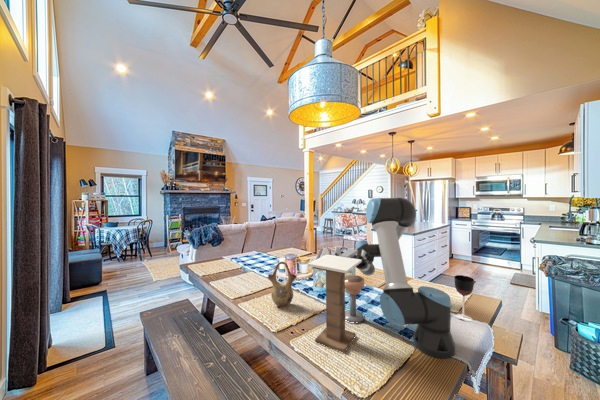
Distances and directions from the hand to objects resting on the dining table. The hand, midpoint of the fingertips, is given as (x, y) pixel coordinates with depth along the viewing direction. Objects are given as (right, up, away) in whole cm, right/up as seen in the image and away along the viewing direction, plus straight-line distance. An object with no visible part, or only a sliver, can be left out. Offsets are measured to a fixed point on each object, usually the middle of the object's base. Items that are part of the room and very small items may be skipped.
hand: (348, 250), depth 116 cm
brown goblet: (+3, -35, +6) cm, 36 cm away
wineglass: (+58, -35, +5) cm, 68 cm away
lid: (-4, -3, -7) cm, 9 cm away
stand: (-8, -36, -11) cm, 38 cm away
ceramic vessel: (-33, -35, +20) cm, 52 cm away
